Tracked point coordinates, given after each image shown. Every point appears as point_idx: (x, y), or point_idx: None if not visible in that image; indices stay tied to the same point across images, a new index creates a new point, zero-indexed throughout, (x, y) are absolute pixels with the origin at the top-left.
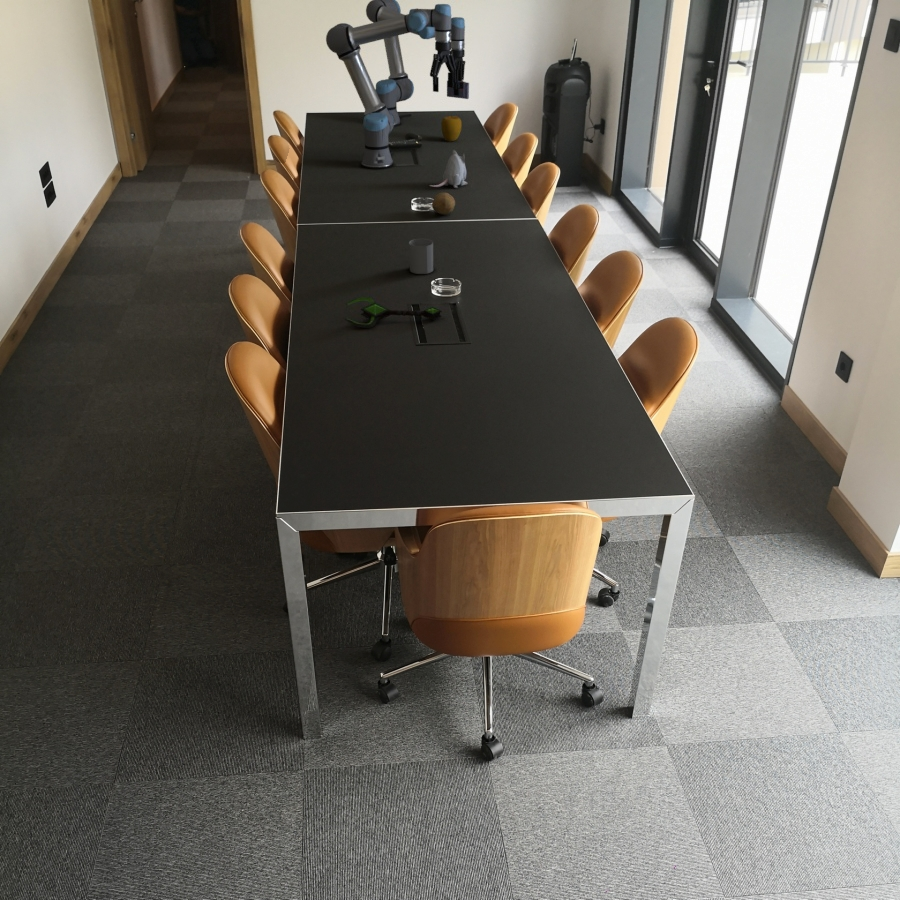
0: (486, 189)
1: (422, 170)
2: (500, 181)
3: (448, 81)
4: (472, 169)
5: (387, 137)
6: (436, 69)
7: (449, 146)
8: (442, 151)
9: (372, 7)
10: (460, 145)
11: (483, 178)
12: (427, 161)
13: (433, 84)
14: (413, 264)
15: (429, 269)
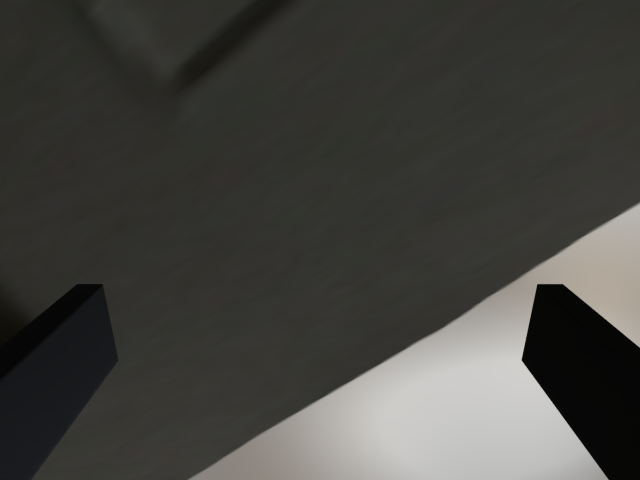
0: (87, 459)
1: (118, 166)
2: (189, 454)
3: (586, 345)
4: (260, 324)
5: None
6: None
7: (588, 24)
8: (470, 52)
9: None
10: (629, 68)
11: (183, 403)
12: (258, 97)
13: (4, 360)
14: None
15: None
